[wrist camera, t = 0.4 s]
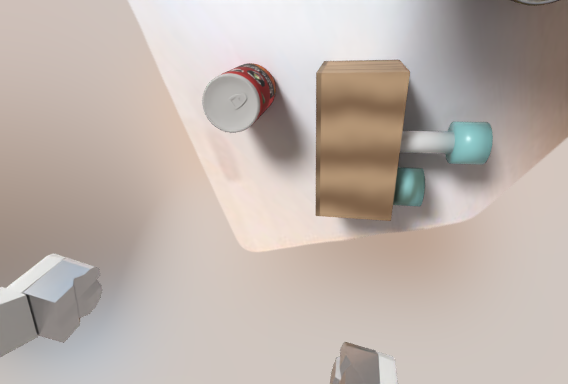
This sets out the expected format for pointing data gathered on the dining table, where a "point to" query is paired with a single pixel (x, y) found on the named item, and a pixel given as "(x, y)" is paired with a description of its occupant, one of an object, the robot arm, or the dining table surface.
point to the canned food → (238, 97)
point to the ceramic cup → (535, 2)
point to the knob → (452, 142)
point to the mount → (362, 140)
